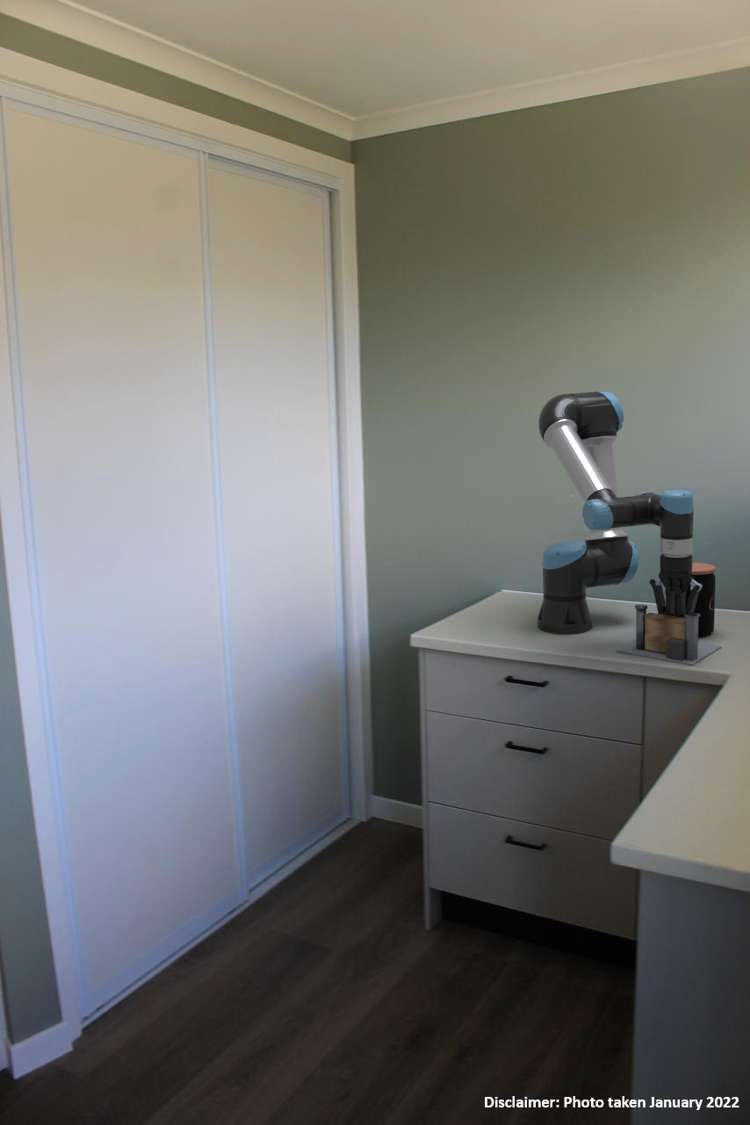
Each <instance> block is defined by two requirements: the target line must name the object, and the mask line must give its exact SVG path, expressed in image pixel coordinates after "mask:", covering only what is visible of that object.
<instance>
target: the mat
mask: <svg viewBox="0 0 750 1125" xmlns="http://www.w3.org/2000/svg"><path fill="white" fill-rule="evenodd" d="M720 649H722V645H717V644H710V643H703V642H699V641H698V658H697V659H695V660H694V661H692V660H686V659H685V660H683V661H679V660H674V659H668V658H666V653H663V652H658V651H652V650H647V649H645V650H638V649H636V639H635V640H633V641H631V642H629V643H627V644H625V645H623V646H621V647H619V648H617V649H616V650H615V651H616V653H622V654H627V655H633V656H637V657H642V658H648V659H654V660H660V661H665V662H669V663H676V664H680V665H685V666H691V667H692V666H694V665H697V664H698V663H699V662H701V661H703V660H704V659H705V658H707V657H709V656H711V655H712V654H714V653H716V652H717V651H718V650H720Z"/></svg>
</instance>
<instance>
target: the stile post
mask: <svg viewBox="0 0 750 1125" xmlns="http://www.w3.org/2000/svg"><path fill="white" fill-rule="evenodd" d="M699 616H700V614H699V613H692V612H689V613H687V614H685V615H684V617H685V618H686V652H685V659H686V660H692V661H694V660H695V659H697V658H698V642H699V637H698V617H699Z"/></svg>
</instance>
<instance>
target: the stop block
mask: <svg viewBox="0 0 750 1125" xmlns="http://www.w3.org/2000/svg"><path fill="white" fill-rule="evenodd" d="M685 652H686V640H682V639H676V638H670V639H668V640H667V648H666V658H668V659H674V660H679V661H683V660H685Z"/></svg>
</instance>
